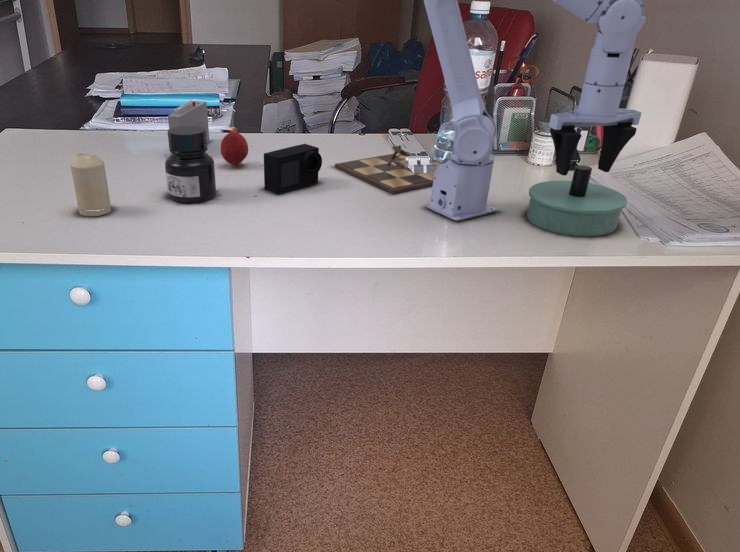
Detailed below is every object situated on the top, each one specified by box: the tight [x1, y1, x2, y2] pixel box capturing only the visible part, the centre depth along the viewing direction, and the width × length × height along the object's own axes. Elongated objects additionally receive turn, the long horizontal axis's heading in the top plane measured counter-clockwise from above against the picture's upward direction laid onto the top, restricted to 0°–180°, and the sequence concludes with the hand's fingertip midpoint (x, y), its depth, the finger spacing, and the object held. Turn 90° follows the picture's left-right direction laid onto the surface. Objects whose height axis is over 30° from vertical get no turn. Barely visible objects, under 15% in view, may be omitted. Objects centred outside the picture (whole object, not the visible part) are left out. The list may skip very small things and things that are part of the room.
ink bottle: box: [164, 126, 217, 204], centre depth 117 cm, size 10×9×12 cm
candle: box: [69, 152, 112, 217], centre depth 111 cm, size 6×6×10 cm
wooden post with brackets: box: [387, 145, 414, 168], centre depth 131 cm, size 2×8×4 cm, turn 80°
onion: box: [220, 126, 249, 167], centre depth 134 cm, size 6×6×8 cm
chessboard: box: [334, 153, 445, 195], centre depth 132 cm, size 20×20×1 cm
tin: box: [526, 196, 623, 237], centre depth 108 cm, size 14×14×4 cm
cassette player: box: [167, 100, 210, 144], centre depth 145 cm, size 16×3×10 cm, turn 165°
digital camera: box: [263, 143, 323, 195], centre depth 123 cm, size 10×5×7 cm, turn 131°
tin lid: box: [528, 165, 628, 214], centre depth 106 cm, size 15×15×6 cm
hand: (582, 172), depth 105 cm, fingers open, 7 cm apart
